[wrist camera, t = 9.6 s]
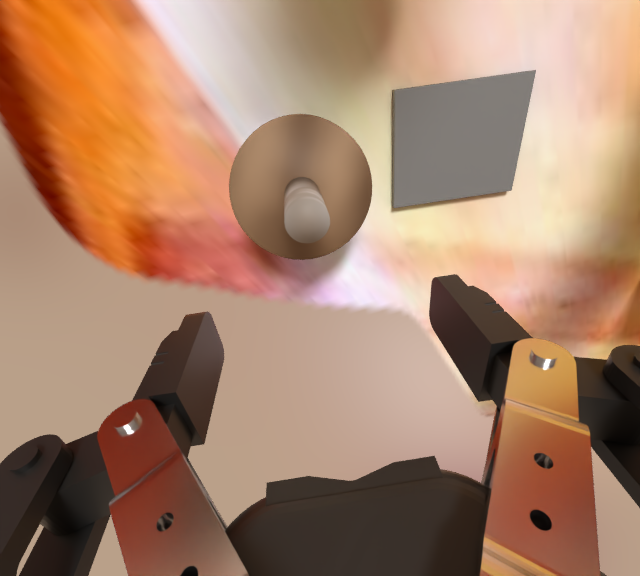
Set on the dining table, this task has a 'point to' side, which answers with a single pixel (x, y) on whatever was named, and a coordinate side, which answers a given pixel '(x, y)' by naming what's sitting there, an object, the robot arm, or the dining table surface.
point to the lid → (300, 187)
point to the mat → (458, 137)
